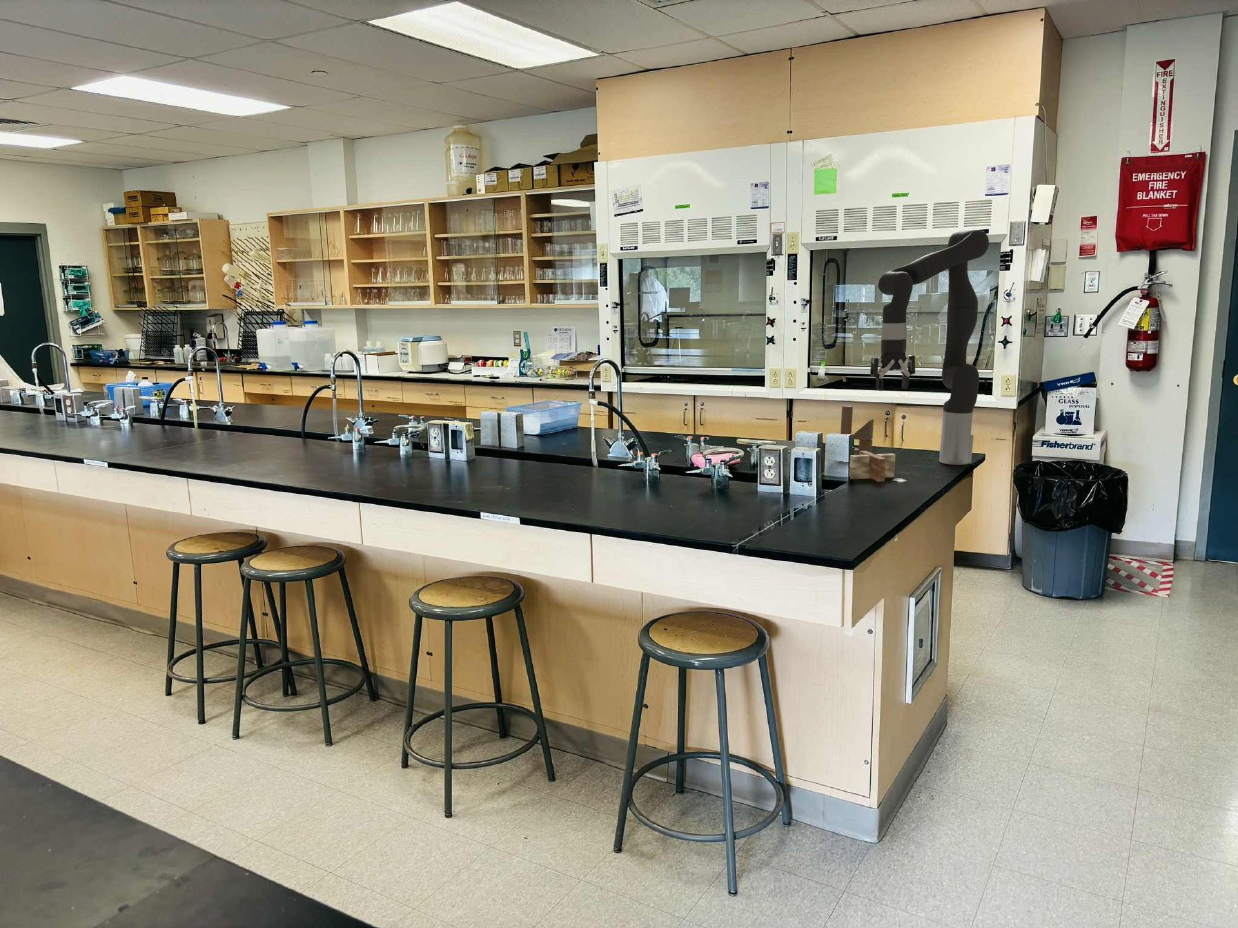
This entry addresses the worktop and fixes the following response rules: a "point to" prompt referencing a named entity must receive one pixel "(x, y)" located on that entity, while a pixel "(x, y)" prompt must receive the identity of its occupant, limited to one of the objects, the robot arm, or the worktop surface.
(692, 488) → the worktop surface
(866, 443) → the wooden block
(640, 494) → the worktop surface
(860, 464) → the maple plate
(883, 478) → the cherry plate
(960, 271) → the robot arm
